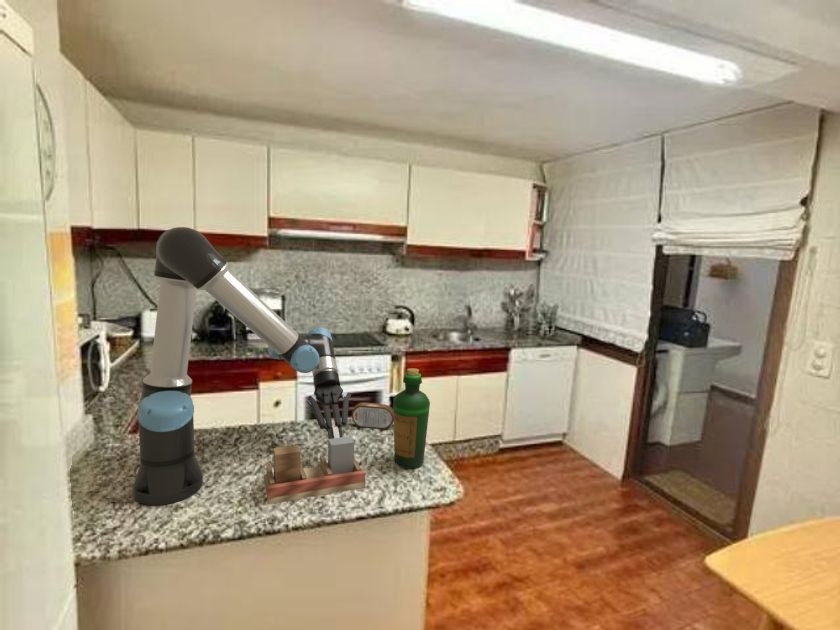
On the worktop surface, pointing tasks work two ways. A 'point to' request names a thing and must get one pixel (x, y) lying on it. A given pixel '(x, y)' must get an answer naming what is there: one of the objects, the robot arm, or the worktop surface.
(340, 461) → the grey block
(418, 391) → the bottle
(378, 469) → the worktop surface
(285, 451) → the brown box
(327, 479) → the wooden compartment tray
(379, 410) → the tin
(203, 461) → the worktop surface
